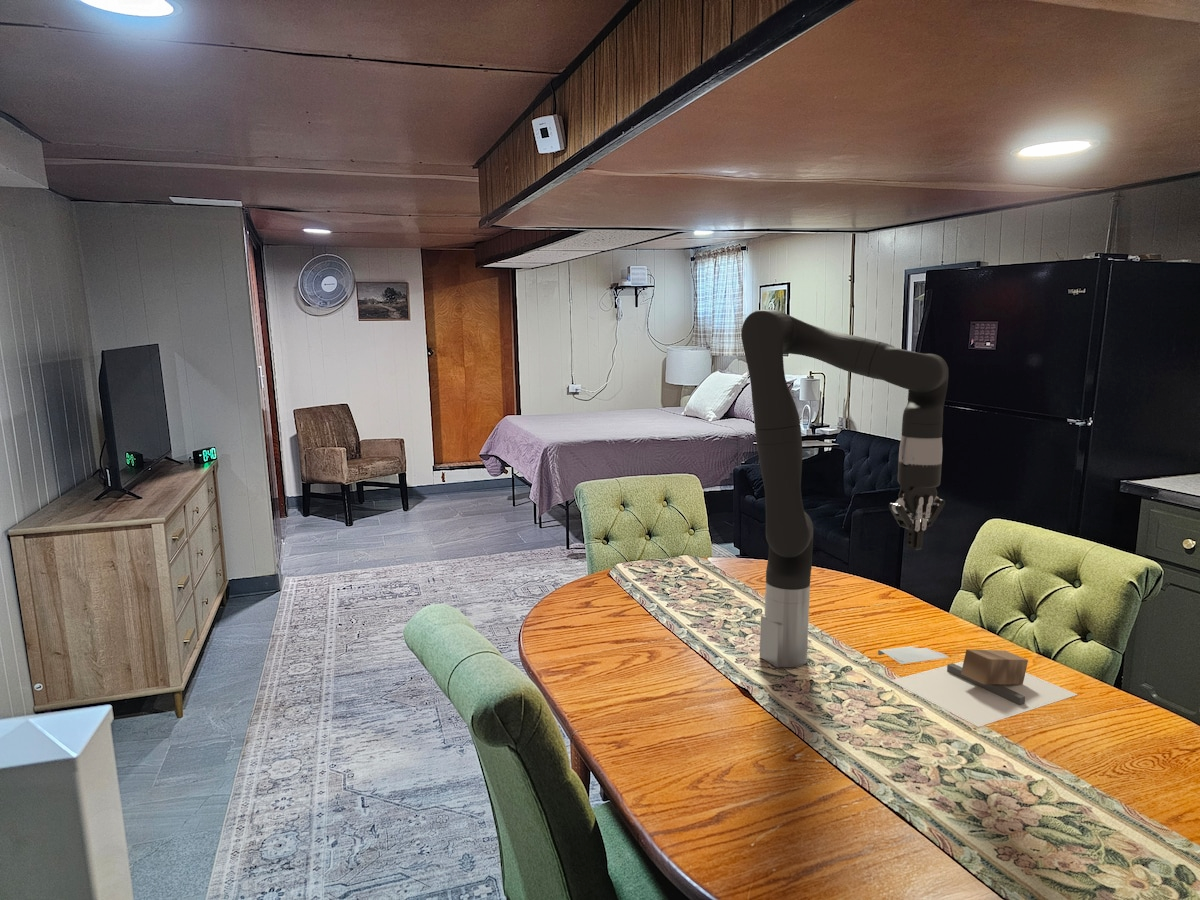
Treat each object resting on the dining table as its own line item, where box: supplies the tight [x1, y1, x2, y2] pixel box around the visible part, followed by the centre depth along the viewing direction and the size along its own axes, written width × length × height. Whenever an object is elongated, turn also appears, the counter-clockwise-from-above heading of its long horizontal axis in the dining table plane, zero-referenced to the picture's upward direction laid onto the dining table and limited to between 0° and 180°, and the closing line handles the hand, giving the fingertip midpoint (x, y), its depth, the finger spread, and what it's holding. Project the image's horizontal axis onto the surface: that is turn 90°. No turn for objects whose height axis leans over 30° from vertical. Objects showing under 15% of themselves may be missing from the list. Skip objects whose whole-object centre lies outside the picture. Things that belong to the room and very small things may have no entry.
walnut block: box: [961, 649, 1029, 684], centre depth 147 cm, size 5×5×12 cm
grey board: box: [890, 660, 1078, 728], centre depth 146 cm, size 28×20×2 cm
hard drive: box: [877, 644, 949, 665], centre depth 162 cm, size 2×8×12 cm
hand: (914, 548), depth 142 cm, fingers closed
